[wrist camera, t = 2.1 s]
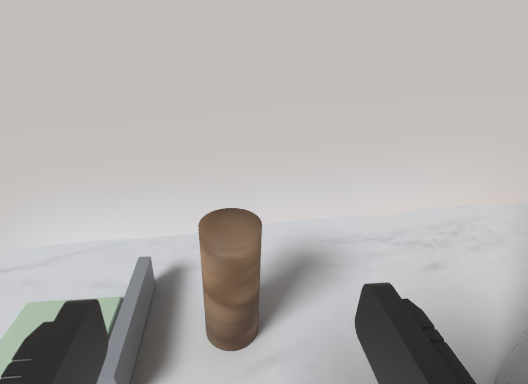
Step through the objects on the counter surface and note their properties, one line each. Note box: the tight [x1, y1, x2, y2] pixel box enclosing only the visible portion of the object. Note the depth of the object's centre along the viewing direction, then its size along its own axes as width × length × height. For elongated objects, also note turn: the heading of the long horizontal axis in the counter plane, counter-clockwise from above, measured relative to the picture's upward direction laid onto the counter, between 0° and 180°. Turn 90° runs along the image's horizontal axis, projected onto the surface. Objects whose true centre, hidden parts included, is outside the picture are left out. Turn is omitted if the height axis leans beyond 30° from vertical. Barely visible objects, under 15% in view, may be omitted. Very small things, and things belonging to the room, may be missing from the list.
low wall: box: [97, 257, 155, 384], centre depth 28 cm, size 1×13×4 cm, turn 7°
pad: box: [0, 297, 121, 379], centre depth 28 cm, size 9×9×1 cm
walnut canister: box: [199, 208, 262, 351], centre depth 28 cm, size 5×5×12 cm
